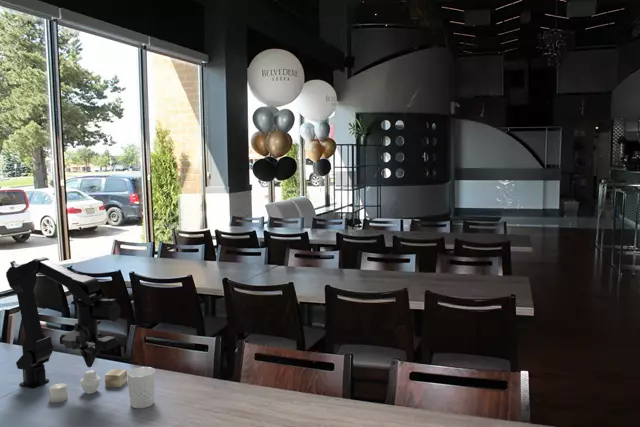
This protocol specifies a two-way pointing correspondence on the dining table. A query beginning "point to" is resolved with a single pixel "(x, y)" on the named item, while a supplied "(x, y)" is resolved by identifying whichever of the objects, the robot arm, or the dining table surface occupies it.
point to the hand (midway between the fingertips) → (89, 367)
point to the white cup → (141, 386)
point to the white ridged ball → (90, 382)
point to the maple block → (115, 378)
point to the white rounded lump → (58, 393)
